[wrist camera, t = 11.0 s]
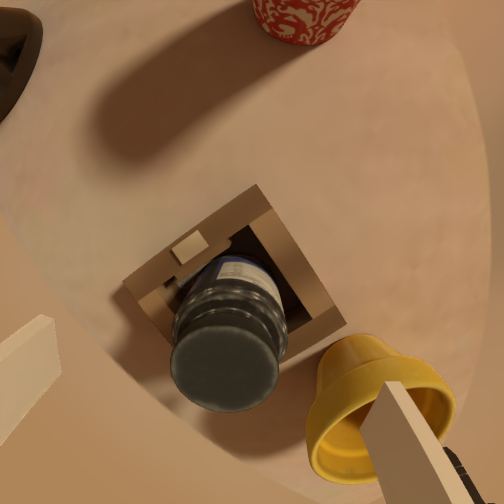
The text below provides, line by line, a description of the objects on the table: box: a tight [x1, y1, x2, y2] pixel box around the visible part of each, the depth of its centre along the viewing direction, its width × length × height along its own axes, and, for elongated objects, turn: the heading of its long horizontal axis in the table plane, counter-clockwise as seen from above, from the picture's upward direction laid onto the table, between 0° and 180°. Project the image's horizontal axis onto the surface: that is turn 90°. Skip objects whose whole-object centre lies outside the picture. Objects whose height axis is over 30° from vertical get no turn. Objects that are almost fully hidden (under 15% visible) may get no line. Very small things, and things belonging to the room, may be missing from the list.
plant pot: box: [305, 334, 455, 485], centre depth 19 cm, size 10×10×10 cm
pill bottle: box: [170, 253, 288, 413], centre depth 17 cm, size 6×6×11 cm
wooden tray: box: [122, 184, 347, 364], centre depth 21 cm, size 11×11×4 cm
